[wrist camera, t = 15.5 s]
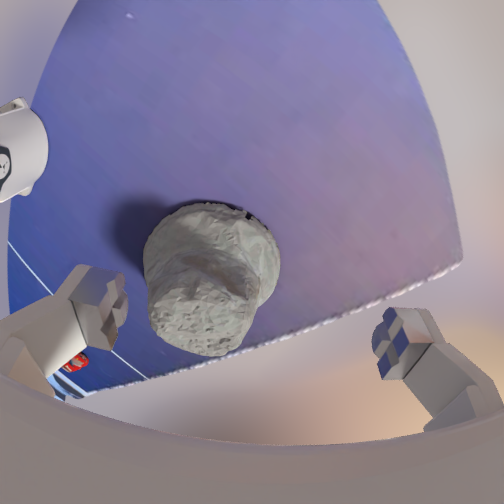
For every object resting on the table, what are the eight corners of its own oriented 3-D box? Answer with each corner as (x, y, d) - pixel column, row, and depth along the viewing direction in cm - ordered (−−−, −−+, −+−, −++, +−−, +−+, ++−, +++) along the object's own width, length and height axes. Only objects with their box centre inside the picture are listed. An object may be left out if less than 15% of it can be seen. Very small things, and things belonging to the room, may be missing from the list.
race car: (78, 346, 65) (73, 357, 62) (92, 359, 68) (88, 369, 65) (58, 355, 69) (53, 365, 66) (71, 366, 72) (67, 376, 68)
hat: (217, 170, 41) (197, 213, 28) (308, 272, 50) (321, 338, 37) (116, 262, 50) (81, 318, 37) (202, 334, 59) (190, 395, 46)
